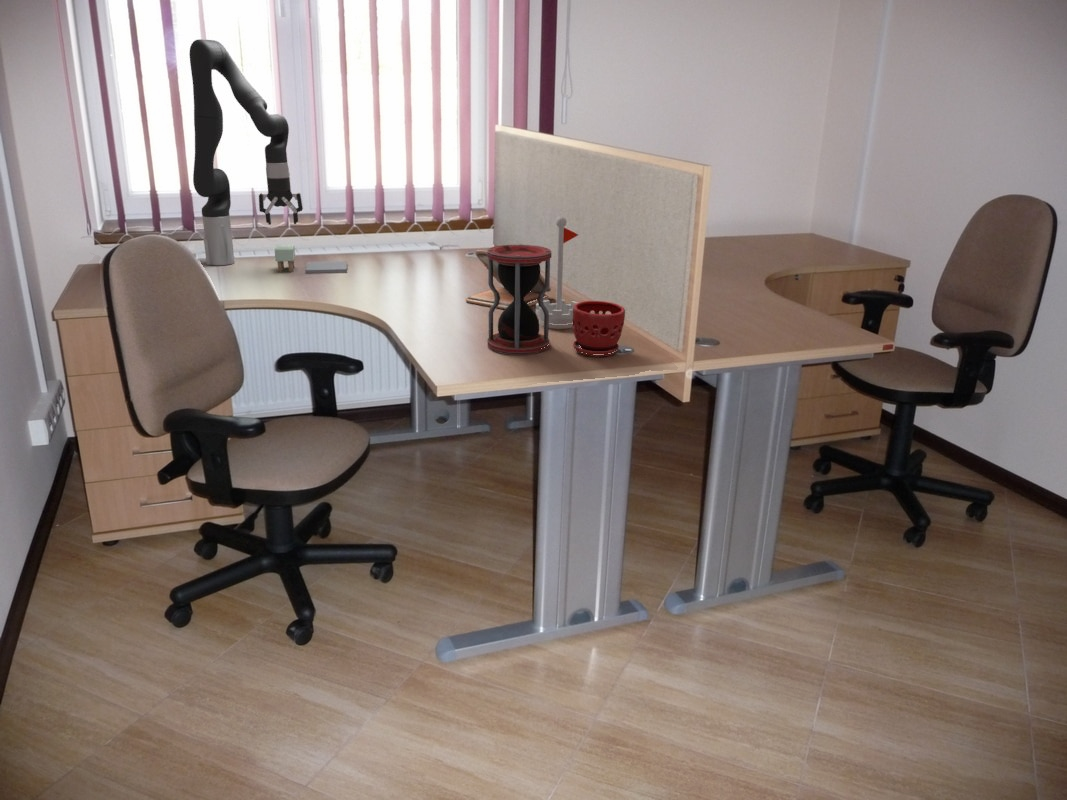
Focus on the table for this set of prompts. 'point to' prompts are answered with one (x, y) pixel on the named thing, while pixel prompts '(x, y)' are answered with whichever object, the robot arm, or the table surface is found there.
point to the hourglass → (518, 299)
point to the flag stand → (559, 286)
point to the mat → (326, 267)
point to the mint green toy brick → (285, 256)
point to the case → (503, 289)
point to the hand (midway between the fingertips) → (282, 224)
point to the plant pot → (597, 327)
